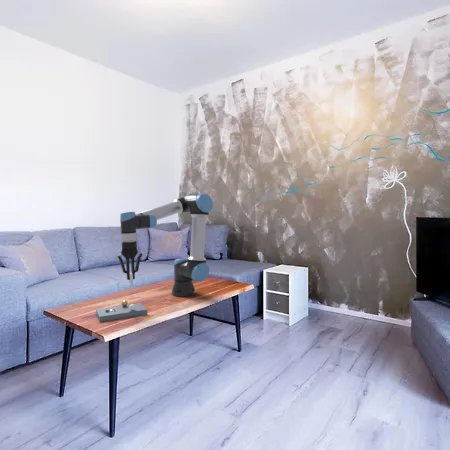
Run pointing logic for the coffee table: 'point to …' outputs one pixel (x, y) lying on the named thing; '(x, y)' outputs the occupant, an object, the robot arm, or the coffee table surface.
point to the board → (120, 312)
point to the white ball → (132, 307)
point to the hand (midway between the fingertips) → (131, 285)
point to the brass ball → (124, 303)
